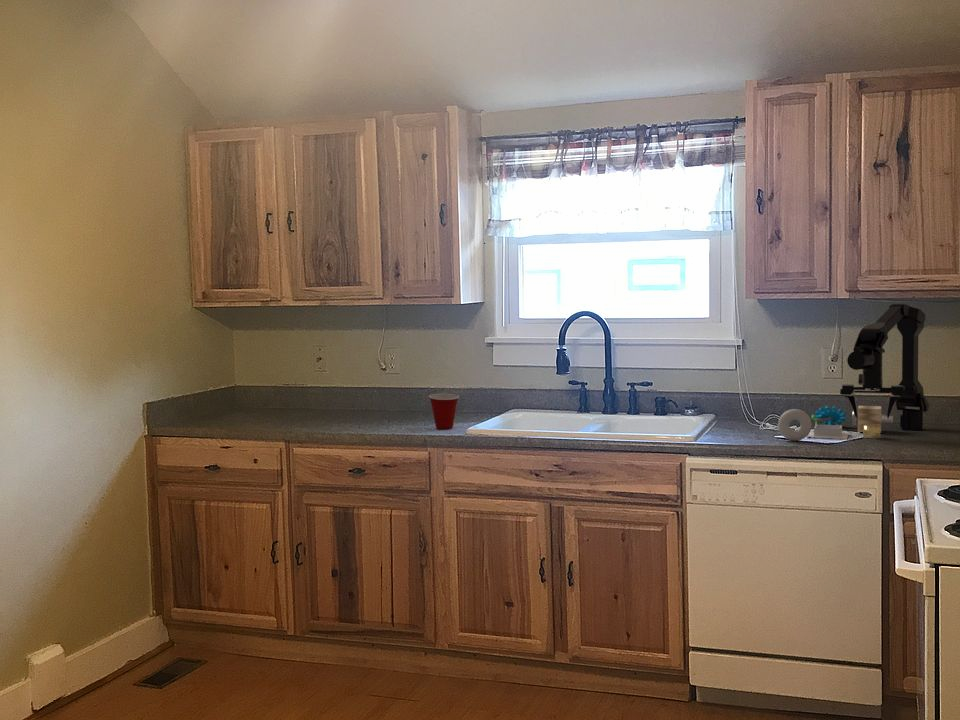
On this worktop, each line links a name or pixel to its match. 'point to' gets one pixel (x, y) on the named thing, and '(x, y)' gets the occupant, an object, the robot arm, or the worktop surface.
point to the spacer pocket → (828, 432)
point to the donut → (794, 415)
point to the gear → (829, 416)
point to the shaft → (883, 418)
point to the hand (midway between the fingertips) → (872, 417)
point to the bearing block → (868, 416)
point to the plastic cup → (444, 409)
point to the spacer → (871, 431)
